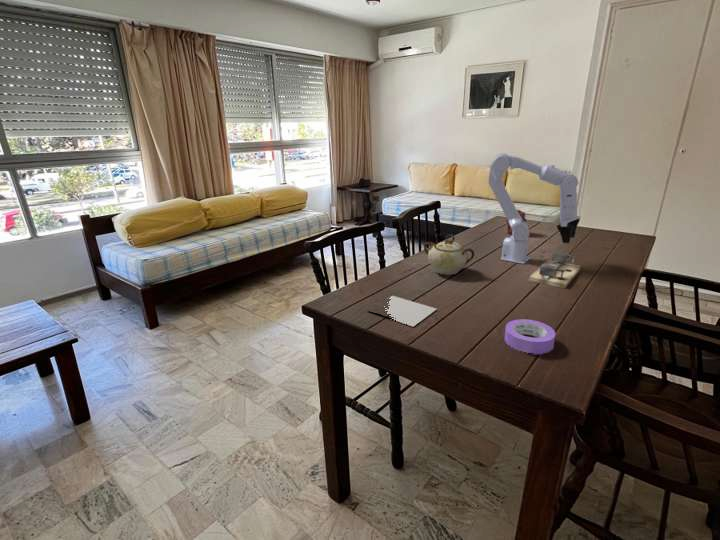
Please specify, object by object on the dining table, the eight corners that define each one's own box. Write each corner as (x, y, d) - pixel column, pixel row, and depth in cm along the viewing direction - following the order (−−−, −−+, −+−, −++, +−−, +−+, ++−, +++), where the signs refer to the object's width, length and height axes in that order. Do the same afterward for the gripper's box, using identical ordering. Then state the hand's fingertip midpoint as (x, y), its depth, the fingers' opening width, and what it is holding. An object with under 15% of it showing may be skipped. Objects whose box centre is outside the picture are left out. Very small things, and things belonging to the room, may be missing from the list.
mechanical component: (522, 231, 199) (526, 236, 190) (502, 231, 201) (505, 236, 192) (525, 208, 194) (529, 212, 185) (504, 208, 196) (507, 212, 187)
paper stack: (407, 288, 133) (407, 286, 133) (475, 306, 118) (475, 304, 118) (366, 312, 116) (366, 310, 116) (439, 338, 102) (439, 335, 101)
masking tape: (503, 350, 95) (505, 337, 94) (504, 328, 105) (506, 316, 104) (555, 358, 91) (557, 345, 90) (551, 335, 101) (553, 322, 100)
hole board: (528, 280, 136) (530, 267, 134) (546, 263, 153) (548, 251, 151) (565, 288, 129) (567, 274, 127) (580, 269, 145) (582, 256, 144)
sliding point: (551, 261, 147) (552, 253, 146) (553, 259, 149) (554, 251, 148) (573, 265, 143) (574, 257, 142) (575, 263, 145) (576, 255, 144)
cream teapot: (477, 269, 148) (480, 232, 143) (466, 282, 136) (469, 242, 131) (430, 262, 158) (431, 227, 153) (415, 273, 146) (417, 236, 141)
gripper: (575, 209, 136) (575, 245, 140) (584, 201, 146) (584, 235, 150) (554, 210, 141) (555, 245, 145) (564, 202, 151) (564, 235, 155)
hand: (568, 240), depth 148 cm, fingers open, 7 cm apart
